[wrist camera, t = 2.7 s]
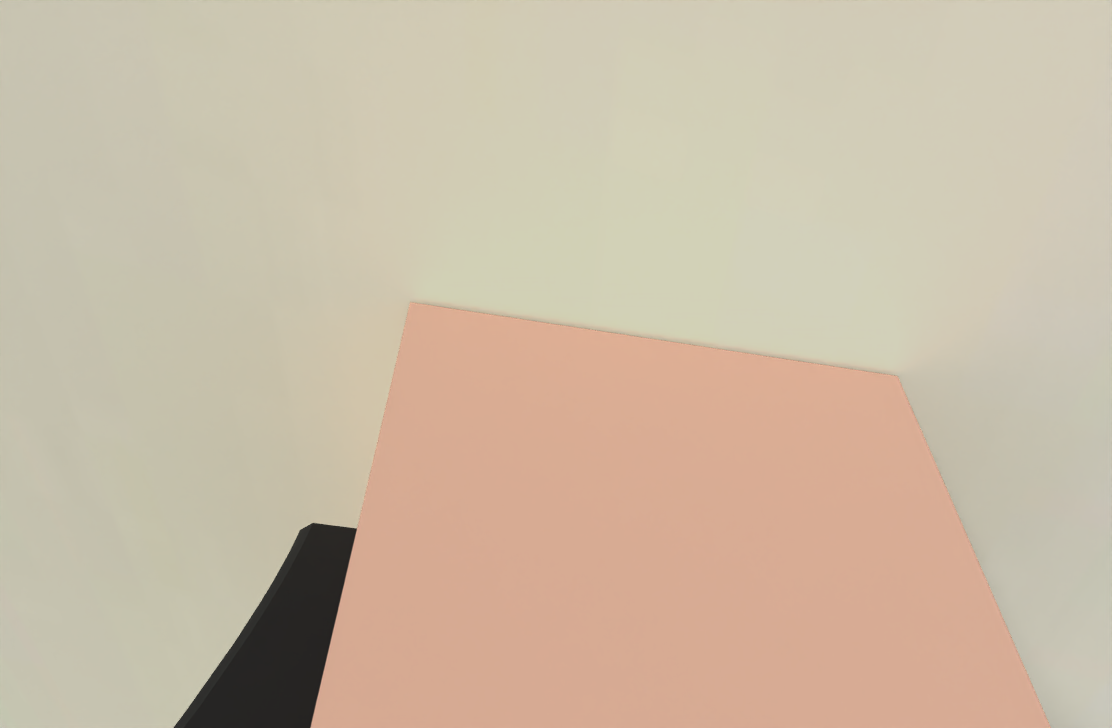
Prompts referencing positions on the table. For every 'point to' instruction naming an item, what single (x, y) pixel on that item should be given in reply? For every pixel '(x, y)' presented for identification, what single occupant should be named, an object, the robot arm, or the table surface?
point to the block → (656, 546)
